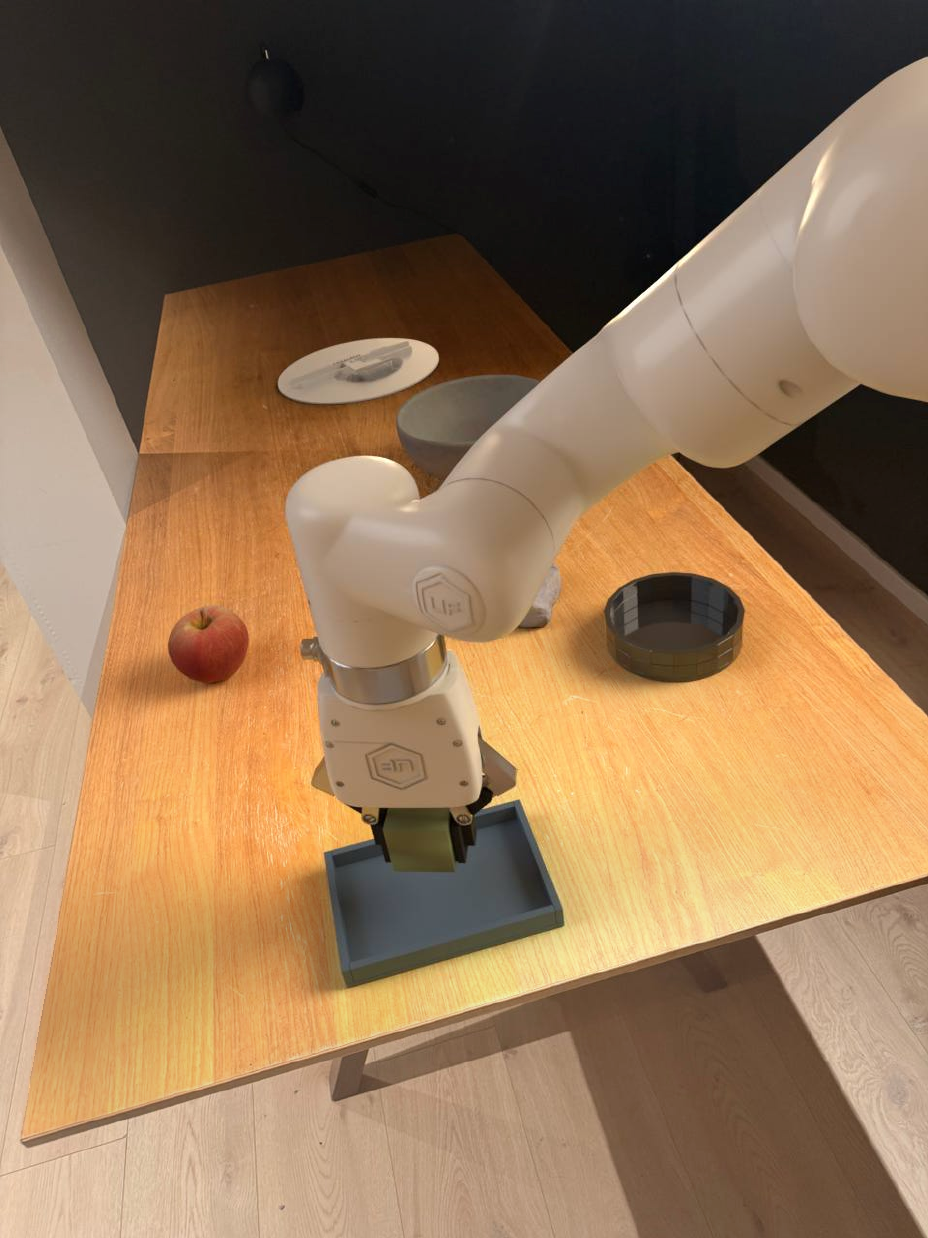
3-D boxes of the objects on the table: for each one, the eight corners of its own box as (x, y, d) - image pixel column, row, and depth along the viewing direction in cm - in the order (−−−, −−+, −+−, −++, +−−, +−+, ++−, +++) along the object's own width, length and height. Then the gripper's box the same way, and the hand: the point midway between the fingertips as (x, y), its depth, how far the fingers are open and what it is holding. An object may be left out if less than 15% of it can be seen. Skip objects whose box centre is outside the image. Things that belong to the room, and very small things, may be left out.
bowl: (438, 435, 139) (428, 369, 133) (574, 441, 131) (569, 372, 126) (382, 504, 124) (367, 434, 118) (531, 515, 117) (523, 441, 111)
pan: (764, 621, 94) (766, 592, 92) (706, 699, 86) (707, 669, 84) (645, 587, 102) (644, 560, 100) (581, 656, 94) (579, 628, 92)
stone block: (468, 585, 109) (437, 622, 101) (467, 546, 107) (435, 581, 99) (569, 598, 105) (545, 637, 97) (570, 557, 103) (546, 594, 95)
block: (462, 823, 71) (454, 781, 68) (455, 872, 67) (446, 830, 65) (403, 823, 72) (393, 782, 69) (393, 872, 68) (382, 830, 65)
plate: (394, 327, 179) (393, 321, 178) (468, 367, 158) (467, 360, 157) (255, 372, 169) (253, 365, 169) (315, 420, 149) (313, 412, 148)
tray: (521, 815, 78) (519, 798, 77) (564, 926, 69) (563, 908, 68) (328, 868, 76) (323, 852, 75) (347, 988, 67) (341, 972, 66)
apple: (273, 655, 100) (253, 593, 96) (227, 703, 95) (203, 640, 90) (214, 641, 104) (192, 581, 99) (166, 687, 98) (141, 625, 94)
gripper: (238, 696, 57) (305, 888, 68) (517, 691, 54) (541, 892, 65) (272, 621, 63) (329, 808, 74) (525, 613, 60) (546, 809, 71)
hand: (428, 845), depth 69 cm, fingers closed on block, 4 cm apart
